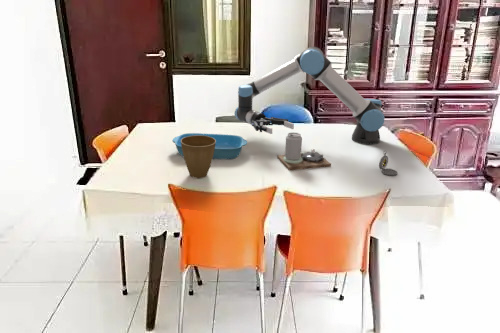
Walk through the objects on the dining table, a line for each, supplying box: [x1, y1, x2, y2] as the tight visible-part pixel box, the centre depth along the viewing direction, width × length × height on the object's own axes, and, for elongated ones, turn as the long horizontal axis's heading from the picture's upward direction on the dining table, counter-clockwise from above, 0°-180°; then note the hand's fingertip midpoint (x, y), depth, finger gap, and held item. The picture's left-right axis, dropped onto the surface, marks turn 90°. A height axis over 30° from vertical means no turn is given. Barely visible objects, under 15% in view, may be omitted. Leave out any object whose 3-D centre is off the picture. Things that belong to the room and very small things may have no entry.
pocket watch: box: [378, 151, 398, 176], centre depth 196 cm, size 8×8×10 cm
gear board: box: [276, 151, 332, 171], centre depth 207 cm, size 21×16×2 cm
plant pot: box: [181, 135, 216, 179], centre depth 187 cm, size 15×15×16 cm
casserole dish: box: [172, 132, 248, 160], centre depth 215 cm, size 37×22×7 cm, turn 89°
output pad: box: [283, 156, 303, 164], centre depth 205 cm, size 9×9×1 cm
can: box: [284, 132, 303, 160], centre depth 202 cm, size 8×8×12 cm
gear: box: [301, 148, 325, 163], centre depth 207 cm, size 11×11×5 cm
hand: (282, 128), depth 210 cm, fingers open, 13 cm apart
